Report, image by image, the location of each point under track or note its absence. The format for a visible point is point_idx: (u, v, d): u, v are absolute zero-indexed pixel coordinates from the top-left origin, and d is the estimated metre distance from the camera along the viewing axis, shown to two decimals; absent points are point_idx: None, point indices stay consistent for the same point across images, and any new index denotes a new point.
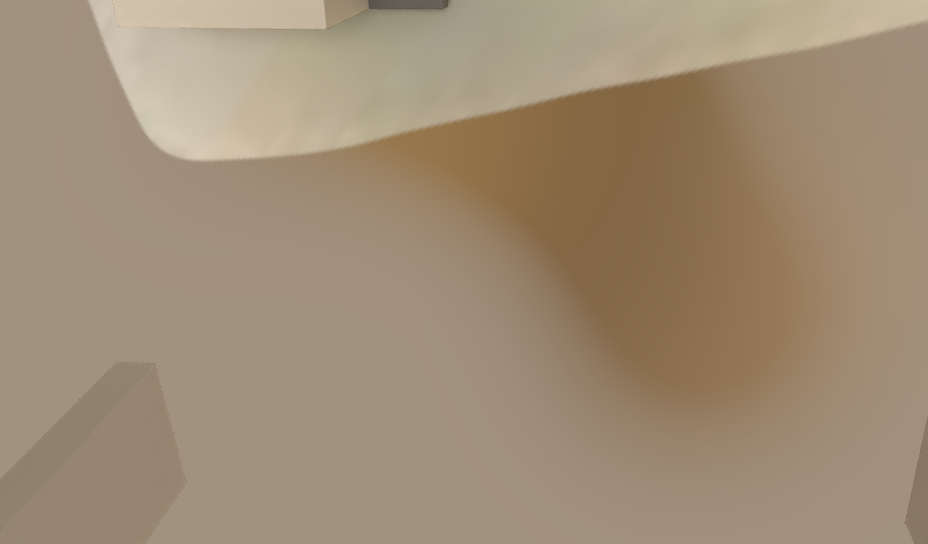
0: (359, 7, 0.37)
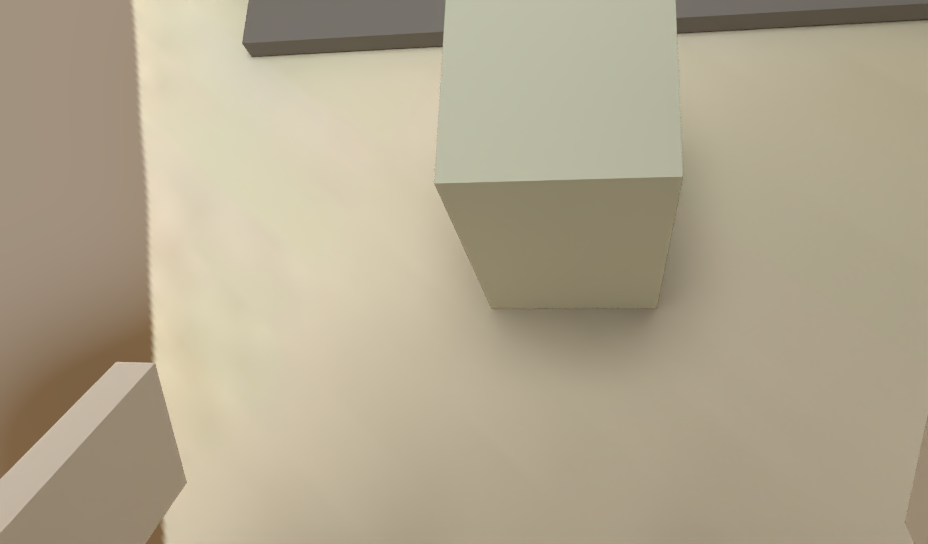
0: None
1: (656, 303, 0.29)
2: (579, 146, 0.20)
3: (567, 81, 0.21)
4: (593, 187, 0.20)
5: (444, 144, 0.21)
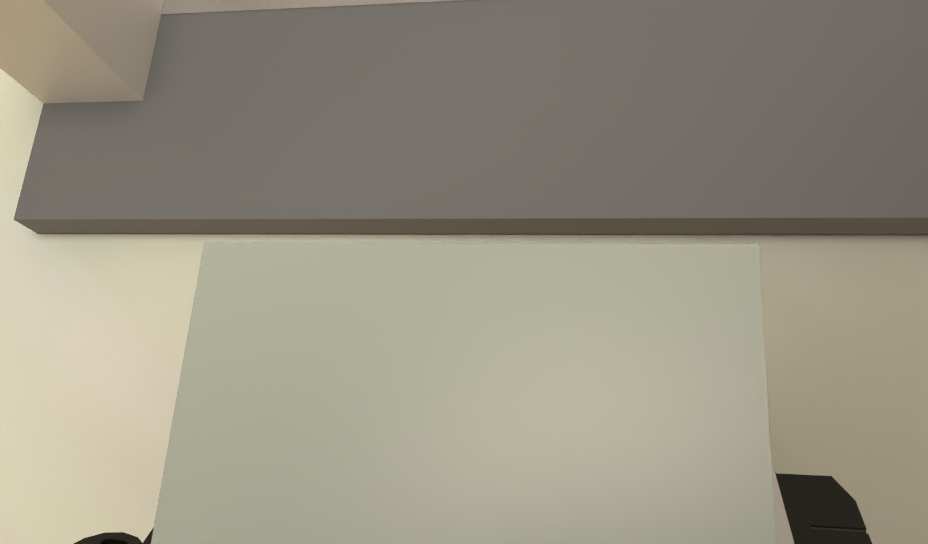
0: (17, 75, 0.22)
1: None
2: None
3: None
4: None
5: None
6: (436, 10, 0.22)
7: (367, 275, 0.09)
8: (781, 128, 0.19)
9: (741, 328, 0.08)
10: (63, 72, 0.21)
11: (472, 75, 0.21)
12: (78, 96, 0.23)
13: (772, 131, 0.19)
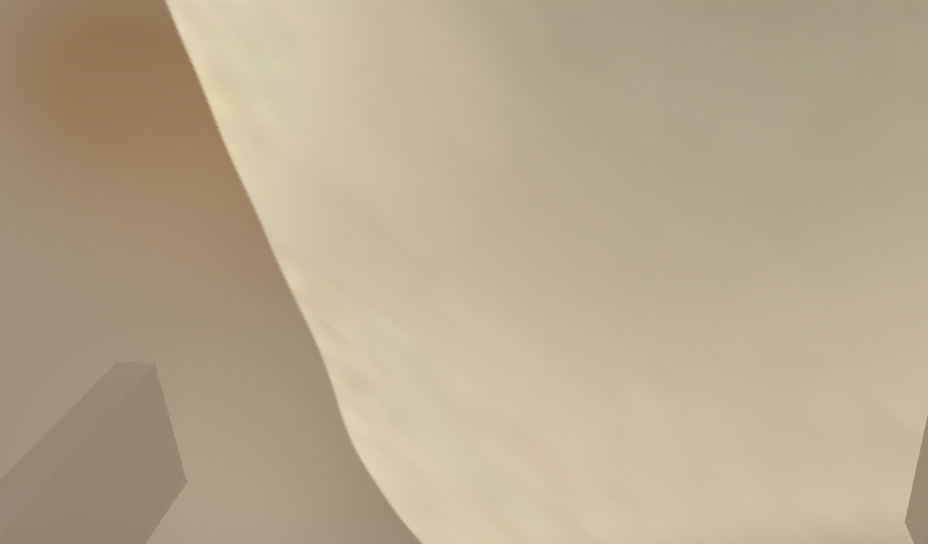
0: None
1: None
2: None
3: None
4: None
5: None
6: None
7: None
8: None
9: None
10: None
11: None
12: None
13: None
